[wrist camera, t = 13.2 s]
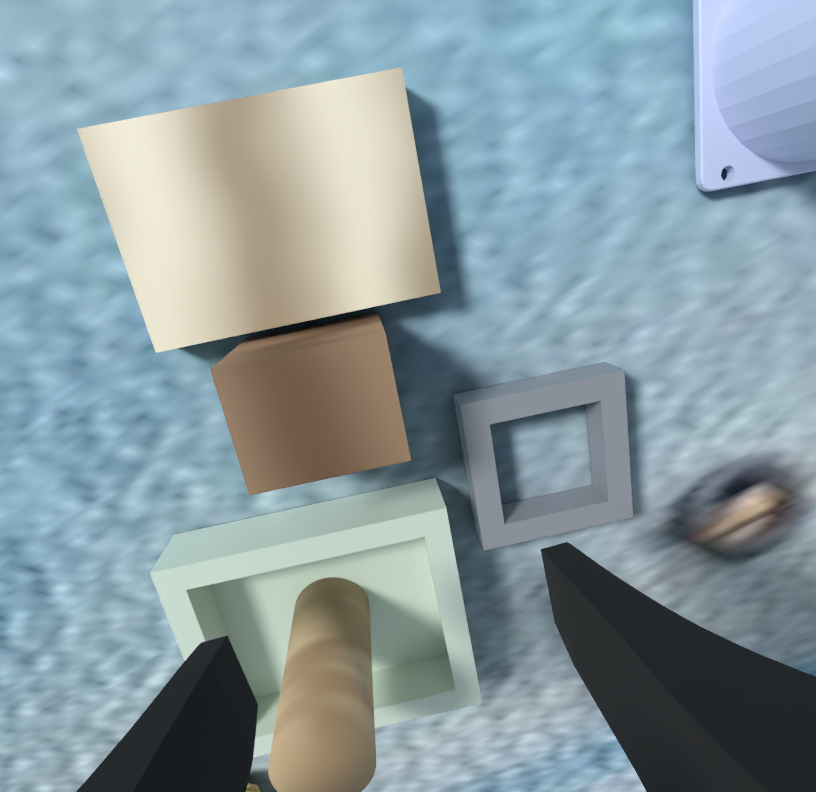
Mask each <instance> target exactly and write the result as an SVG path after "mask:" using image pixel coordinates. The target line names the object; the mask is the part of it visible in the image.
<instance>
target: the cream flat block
mask: <svg viewBox="0 0 816 792" xmlns="http://www.w3.org/2000/svg"><path fill="white" fill-rule="evenodd" d="M77 130H78V133H79V136H80V139H81V142H82V144H83V147H84V150H85V153H86V156H87V159H88V161H89V164H90V167H91V170H92V173H93V176H94V178H95V181H96V184H97V187H98V190H99V193H100V195H101V198H102V201H103V204H104V207H105V210H106V212H107V215H108V218H109V221H110V224H111V227H112V229H113V232H114V235H115V238H116V241H117V244H118V246H119V249H120V252H121V255H122V258H123V261H124V264H125V266H126V269H127V272H128V275H129V278H130V281H131V283H132V286H133V289H134V292H135V295H136V298H137V300H138V303H139V306H140V309H141V312H142V315H143V317H144V320H145V323H146V326H147V329H148V332H149V334H150V337H151V340H152V343H153V346H154V349H155V351H156V353H157V352H162V351H167V350H171V349H176V348H181V347H186V346H190V345H195V344H200V343H205V342H209V341H214V340H219V339H224V338H228V337H233V336H238V335H243V334H247V333H252V332H257V331H262V330H266V329H271V328H276V327H281V326H285V325H290V324H295V323H300V322H304V321H309V320H314V319H319V318H323V317H328V316H333V315H338V314H342V313H347V312H352V311H357V310H361V309H366V308H371V307H376V306H380V305H385V304H390V303H394V302H399V301H404V300H409V299H413V298H418V297H423V296H428V295H432V294H437V293H441V290H440V284H439V279H438V273H437V267H436V261H435V255H434V250H433V244H432V238H431V232H430V227H429V221H428V215H427V209H426V203H425V198H424V192H423V186H422V180H421V175H420V169H419V163H418V157H417V152H416V146H415V140H414V134H413V128H412V123H411V117H410V111H409V105H408V100H407V94H406V88H405V82H404V76H403V71H402V67H401V68H396V69H390V70H385V71H380V72H375V73H369V74H364V75H359V76H354V77H348V78H343V79H338V80H332V81H327V82H322V83H317V84H311V85H306V86H301V87H296V88H290V89H285V90H280V91H274V92H269V93H264V94H259V95H253V96H248V97H243V98H238V99H232V100H227V101H222V102H216V103H211V104H206V105H201V106H195V107H190V108H185V109H180V110H174V111H169V112H164V113H159V114H153V115H148V116H143V117H137V118H132V119H127V120H122V121H116V122H111V123H106V124H101V125H95V126H90V127H85V128H79V129H77Z"/></svg>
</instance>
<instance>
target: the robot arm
mask: <svg viewBox="0 0 816 792" xmlns="http://www.w3.org/2000/svg"><path fill="white" fill-rule="evenodd" d="M693 39H694V103H695V167H696V184H697V186H698V188H699V189H700V190H702V191H707V192H709V191H715V190H720V189H725V188H730V187H735V186H741V185H746V184H751V183H756V182H761V181H766V180H771V179H776V178H781V177H787V176H792V175H797V174H802V173H807V172H812V171H816V0H693ZM724 168H725V169H726V170H727V177H726V179H725V180H723V179H722V177H721V173H722V170H723V169H724ZM541 553H542V558H543V563H544V569H545V574H546V579H547V584H548V589H549V594H550V600H551V605H552V610H553V615H554V620H555V624H556V626H557V628H558V630H559V633H560V635H561V637H562V639H563V642H564V644H565V646H566V648H567V651H568V653H569V655H570V657H571V659H572V662H573V664H574V666H575V668H576V669H577V671H578V673H579V675H580V676H581V678H582V680H583V682H584V683H585V685H586V687H587V688H588V690H589V692H590V694H591V695H592V697H593V699H594V701H595V702H596V704H597V706H598V707H599V709H600V711H601V712H602V714H603V716H604V718H605V719H606V721H607V723H608V724H609V726H610V728H611V730H612V731H613V733H614V735H615V736H616V738H617V740H618V741H619V743H620V745H621V747H622V748H623V750H624V752H625V753H626V755H627V757H628V759H629V760H630V762H631V764H632V765H633V767H634V769H635V771H636V773H637V774H638V776H639V778H640V780H641V782H642V784H643V786H644V787H645V789H646V791H647V792H816V677H815V676H812V675H810V674H807V673H804V672H802V671H799V670H797V669H794V668H792V667H789V666H787V665H784V664H782V663H779V662H777V661H774V660H772V659H769V658H767V657H764V656H762V655H760V654H757V653H755V652H753V651H751V650H748V649H746V648H744V647H741V646H739V645H737V644H735V643H733V642H731V641H729V640H727V639H725V638H723V637H720V636H718V635H716V634H714V633H712V632H710V631H708V630H706V629H704V628H702V627H700V626H698V625H696V624H694V623H692V622H691V621H689V620H687V619H685V618H683V617H682V616H680V615H678V614H676V613H674V612H673V611H671V610H669V609H667V608H666V607H664V606H662V605H661V604H659V603H657V602H656V601H654V600H652V599H651V598H649V597H647V596H646V595H644V594H643V593H641V592H640V591H638V590H636V589H635V588H633V587H632V586H630V585H629V584H627V583H625V582H624V581H622V580H621V579H619V578H618V577H616V576H615V575H613V574H612V573H611V572H609V571H608V570H606V569H605V568H603V567H602V566H600V565H599V564H598V563H596V562H595V561H593V560H592V559H591V558H589V557H588V556H586V555H585V554H584V553H582V552H581V551H579V550H578V549H577V548H575V547H574V546H572V545H571V544H569V543H567V542H566V543H562V544H559V545H555V546H551V547H548V548H544V549H541ZM257 711H258V703H257V701H256V699H255V697H254V694H253V692H252V690H251V688H250V685H249V683H248V681H247V679H246V676H245V674H244V672H243V669H242V667H241V665H240V663H239V660H238V658H237V656H236V654H235V651H234V649H233V647H232V645H231V642H230V640H229V638H228V636H223V637H220V638H216V639H212V640H209V641H205V642H201V643H200V644H199V645H198V646H197V647H196V649H195V650H194V651H193V652H192V653H191V654H190V656H189V657H188V658H187V659H186V661H185V662H184V663H183V664H182V666H181V667H180V668H179V669H178V670H177V672H176V673H175V674H174V676H173V677H172V678H171V679H170V681H169V682H168V683H167V684H166V686H165V687H164V688H163V689H162V691H161V692H160V693H159V694H158V696H157V697H156V698H155V699H154V701H153V702H152V703H151V704H150V706H149V707H148V708H147V709H146V711H145V712H144V713H143V714H142V716H141V717H140V718H139V719H138V721H137V722H136V723H135V724H134V725H133V727H132V728H131V729H130V730H129V732H128V733H127V734H126V735H125V736H124V737H123V739H122V740H121V741H120V742H119V743H118V744H117V746H116V747H115V748H114V749H113V750H112V751H111V753H110V754H109V755H108V756H107V757H106V758H105V760H104V761H103V762H102V763H101V764H100V765H99V767H98V768H97V769H96V770H95V771H94V772H93V773H92V775H91V776H90V777H89V778H88V779H87V780H86V782H85V783H84V784H83V785H82V786H81V787H80V788H79V789H78V790H77V792H246V790H247V785H248V780H249V775H250V770H251V765H252V760H253V754H254V745H255V735H256V724H257Z"/></svg>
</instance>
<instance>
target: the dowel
mask: <svg viewBox="0 0 816 792" xmlns="http://www.w3.org/2000/svg"><path fill="white" fill-rule="evenodd" d="M375 768H376V747H375V724H374V701H373V678H372V655H371V632H370V608H369V601H368V598H367V595H366V594H365V592H364V591H363V590H362V588H361V587H360V586H358V585H357V584H356V583H354V582H352V581H350V580H347V579H344V578H338V577H329V578H323V579H320V580H317V581H315V582H313V583H311V584H309V585H308V586H307V587H305V588H304V589H303V590H302V592H301V593H300V594H299V596H298V598H297V600H296V603H295V608H294V614H293V620H292V626H291V632H290V638H289V644H288V650H287V656H286V662H285V668H284V674H283V680H282V686H281V692H280V698H279V704H278V710H277V716H276V722H275V728H274V734H273V740H272V746H271V752H270V758H269V765H268V774H269V779H270V781H271V783H272V785H273V787H274V788H275V789H276V791H277V792H361V791H362V790H363V789H364V788H365V787H366V786H367V785H368V784H369V782H370V781H371V779H372V777H373V775H374V772H375Z"/></svg>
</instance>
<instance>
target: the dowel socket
mask: <svg viewBox="0 0 816 792" xmlns="http://www.w3.org/2000/svg"><path fill="white" fill-rule="evenodd" d="M453 399H454V405H455V411H456V417H457V423H458V429H459V435H460V441H461V447H462V453H463V459H464V465H465V471H466V477H467V483H468V489H469V495H470V501H471V507H472V513H473V519H474V525H475V531H476V534H477V536H478V538H479V540H480V543H481V545H482V547H483V550H484V551H485V550H490V549H494V548H499V547H503V546H508V545H512V544H517V543H521V542H525V541H530V540H534V539H539V538H543V537H548V536H552V535H557V534H561V533H565V532H570V531H574V530H579V529H583V528H588V527H592V526H596V525H601V524H605V523H610V522H614V521H619V520H623V519H628V518H632V517H633V505H632V488H631V472H630V455H629V439H628V422H627V406H626V389H625V373H624V370H622V369H620V368H617V367H615V366H613V365H611V364H609V363H606V362H604V363H599V364H595V365H590V366H585V367H580V368H576V369H571V370H566V371H561V372H556V373H552V374H547V375H542V376H537V377H533V378H528V379H523V380H518V381H514V382H509V383H504V384H499V385H495V386H490V387H485V388H480V389H476V390H471V391H466V392H461V393H457V394H453ZM583 404H585V408H586V419H587V431H588V443H589V454H590V466H591V478H592V485H590V486H585V487H581V488H576V489H572V490H567V491H563V492H558V493H554V494H549V495H545V496H540V497H535V498H531V499H526V500H522V501H517V502H513V503H508V504H504V505H502V504H501V497H500V490H499V484H498V477H497V470H496V463H495V456H494V450H493V443H492V436H491V429H490V424H494V423H499V422H504V421H508V420H513V419H518V418H522V417H527V416H532V415H537V414H541V413H546V412H551V411H555V410H560V409H565V408H569V407H574V406H579V405H583Z"/></svg>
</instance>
